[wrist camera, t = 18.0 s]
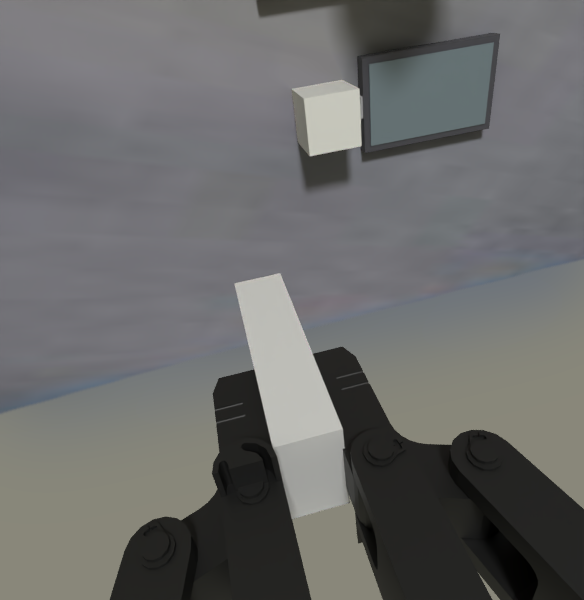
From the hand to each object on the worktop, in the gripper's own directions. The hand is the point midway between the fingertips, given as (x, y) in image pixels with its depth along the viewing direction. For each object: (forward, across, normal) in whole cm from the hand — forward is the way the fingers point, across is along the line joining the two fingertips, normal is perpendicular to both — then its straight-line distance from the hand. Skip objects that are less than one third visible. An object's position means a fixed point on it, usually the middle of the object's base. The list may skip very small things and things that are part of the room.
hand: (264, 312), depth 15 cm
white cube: (+25, +9, 0) cm, 26 cm away
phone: (+24, +18, 0) cm, 30 cm away
